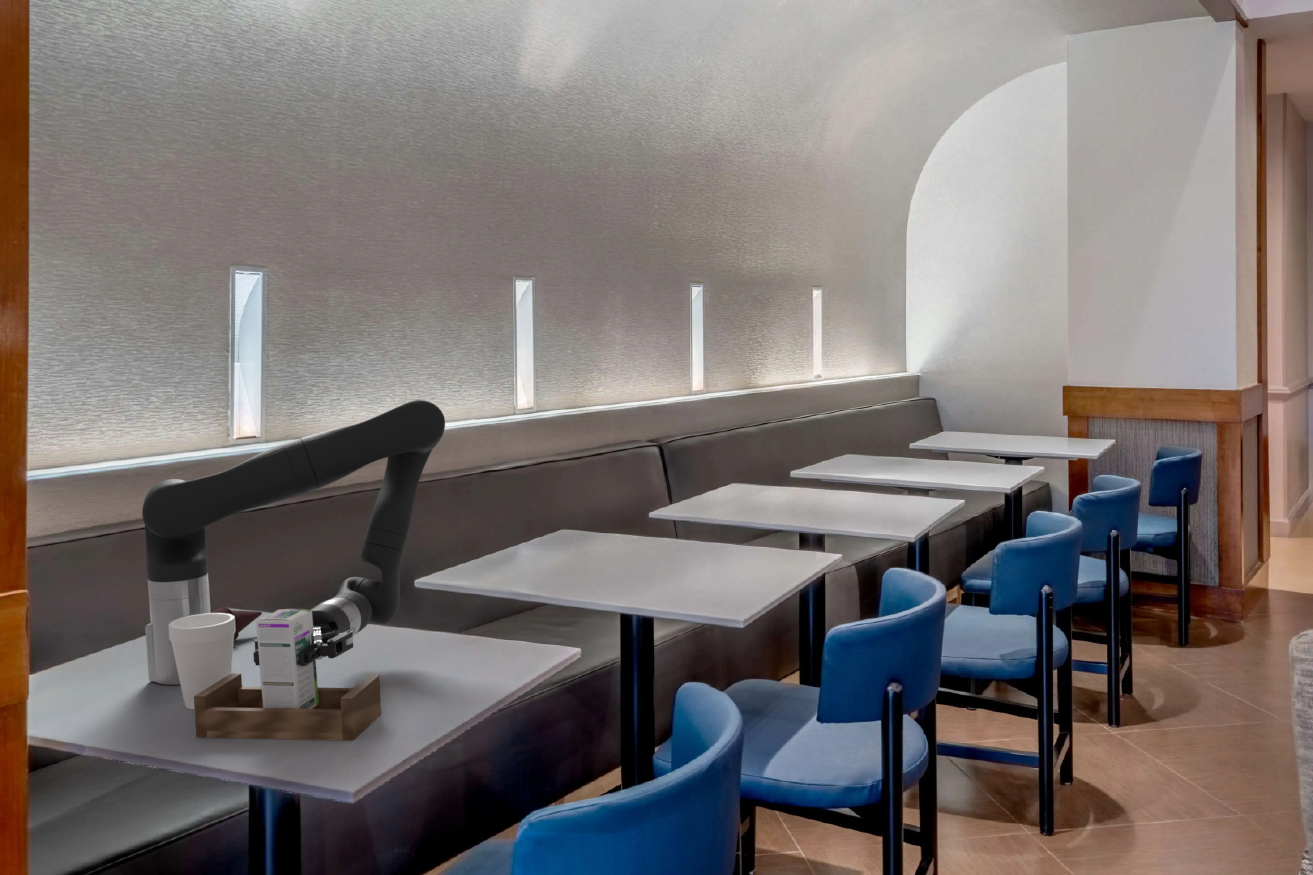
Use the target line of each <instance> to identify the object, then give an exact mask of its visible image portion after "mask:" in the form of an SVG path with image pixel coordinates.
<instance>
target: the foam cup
mask: <svg viewBox="0 0 1313 875" xmlns="http://www.w3.org/2000/svg"><path fill="white" fill-rule="evenodd" d="M235 631H236V628H235V616H233V615H231V614H226V613H205V614H198V615H191V616H187V617H183V618H179V619H176V620H174V621H172V622H170V624H169V640H170V641H171V643H172V647H173V652H174V657H175V661H176V666H177V670H178V675H179V680H180V684H179V685H180V689H181V693H182V698H183V701H184V704H185V705H184V706H185V707H186V708H188V709H190V710H195V708H194V696H195V695H197V694H198V693H200V692H202V691H203V690H205V689H206V688H208V687H210V686H211V685H213V684H215V683H216V682H218V681H220V680H221V679H223V678H225V677H226V676H228V675H229V674H231V673H232V668H233V653H234V651H233V650H234V642H235V641H234V634H235Z"/></svg>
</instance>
